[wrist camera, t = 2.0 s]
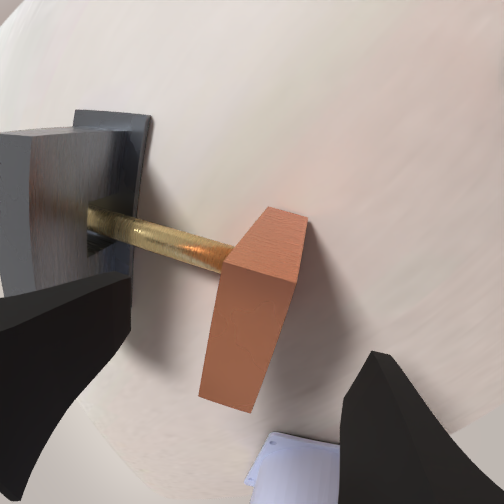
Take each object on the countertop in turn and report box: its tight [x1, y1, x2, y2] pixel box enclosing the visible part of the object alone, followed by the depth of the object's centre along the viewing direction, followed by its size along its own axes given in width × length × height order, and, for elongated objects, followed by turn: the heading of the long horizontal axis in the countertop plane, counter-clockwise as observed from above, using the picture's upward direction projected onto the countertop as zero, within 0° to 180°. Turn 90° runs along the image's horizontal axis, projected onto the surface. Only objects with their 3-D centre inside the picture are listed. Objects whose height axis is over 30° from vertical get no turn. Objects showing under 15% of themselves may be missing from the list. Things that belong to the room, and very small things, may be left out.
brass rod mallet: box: [87, 204, 308, 413], centre depth 12 cm, size 5×14×7 cm, turn 77°
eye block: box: [0, 110, 151, 304], centre depth 13 cm, size 11×5×6 cm, turn 167°
